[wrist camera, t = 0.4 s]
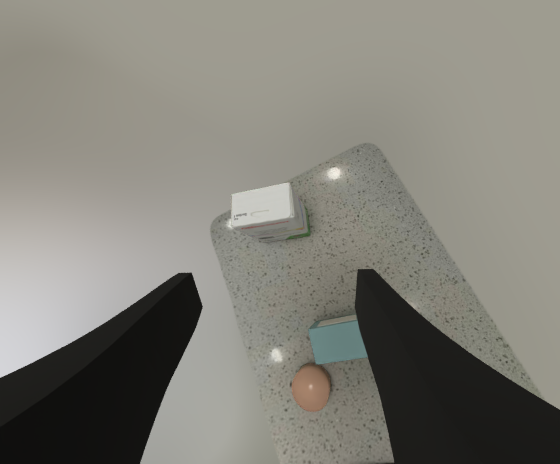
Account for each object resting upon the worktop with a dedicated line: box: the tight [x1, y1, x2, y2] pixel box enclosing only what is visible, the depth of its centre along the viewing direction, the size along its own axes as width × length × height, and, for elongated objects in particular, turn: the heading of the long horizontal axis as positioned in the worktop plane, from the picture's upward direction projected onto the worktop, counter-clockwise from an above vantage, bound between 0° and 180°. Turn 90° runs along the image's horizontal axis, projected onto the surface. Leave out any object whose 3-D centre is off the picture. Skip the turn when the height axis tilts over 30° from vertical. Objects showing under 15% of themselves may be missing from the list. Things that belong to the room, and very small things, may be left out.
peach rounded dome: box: [292, 363, 331, 412], centre depth 33 cm, size 5×5×3 cm
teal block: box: [308, 314, 368, 365], centre depth 31 cm, size 4×7×7 cm, turn 103°
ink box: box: [231, 182, 310, 243], centre depth 35 cm, size 8×5×12 cm, turn 95°
